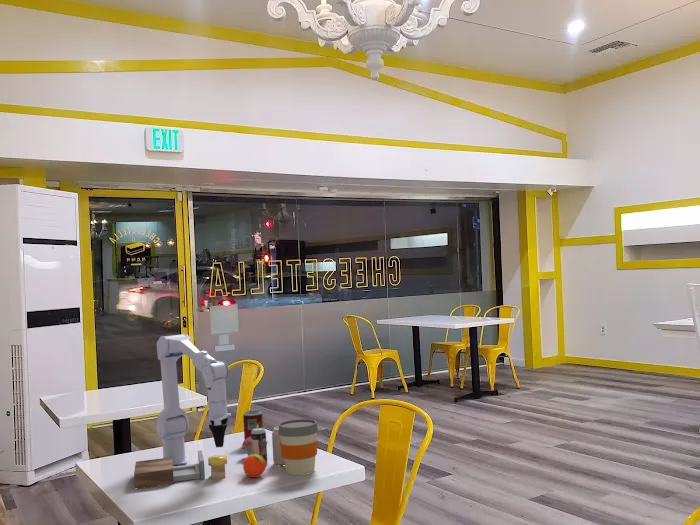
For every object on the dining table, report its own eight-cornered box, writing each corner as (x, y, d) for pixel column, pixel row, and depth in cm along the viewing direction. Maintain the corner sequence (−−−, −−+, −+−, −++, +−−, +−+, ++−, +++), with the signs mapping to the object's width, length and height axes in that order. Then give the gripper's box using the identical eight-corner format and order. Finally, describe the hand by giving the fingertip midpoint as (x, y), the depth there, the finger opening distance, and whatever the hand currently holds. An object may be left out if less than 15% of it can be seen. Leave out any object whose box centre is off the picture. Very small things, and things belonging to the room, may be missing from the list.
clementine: (272, 476, 204) (271, 453, 205) (254, 482, 200) (253, 458, 200) (257, 472, 210) (256, 449, 210) (239, 477, 205) (238, 454, 205)
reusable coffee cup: (287, 479, 200) (284, 429, 201) (275, 469, 212) (272, 422, 212) (326, 472, 205) (323, 424, 206) (312, 463, 217) (309, 417, 217)
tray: (166, 471, 216) (165, 454, 216) (202, 466, 219) (201, 450, 219) (166, 483, 202) (165, 465, 203) (204, 478, 206) (204, 460, 206)
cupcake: (272, 455, 230) (271, 420, 230) (256, 461, 223) (255, 425, 223) (253, 452, 235) (252, 418, 235) (237, 459, 227) (235, 424, 228)
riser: (211, 475, 209) (210, 462, 209) (224, 473, 210) (223, 461, 210) (212, 479, 205) (211, 466, 205) (225, 477, 206) (224, 464, 206)
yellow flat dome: (207, 462, 210) (207, 456, 210) (226, 460, 211) (225, 453, 211) (208, 467, 204) (208, 460, 204) (228, 464, 206) (227, 458, 206)
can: (269, 466, 216) (267, 429, 217) (280, 459, 223) (278, 424, 224) (289, 467, 214) (287, 430, 214) (300, 461, 220) (298, 424, 221)
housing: (136, 475, 214) (135, 461, 214) (173, 470, 217) (172, 457, 217) (134, 488, 199) (133, 473, 199) (173, 483, 202) (173, 468, 203)
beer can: (264, 468, 214) (262, 430, 215) (250, 468, 215) (248, 430, 216) (269, 463, 219) (267, 427, 219) (255, 463, 220) (253, 427, 220)
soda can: (265, 445, 244) (263, 412, 244) (245, 448, 242) (243, 414, 243) (262, 441, 251) (260, 409, 251) (243, 443, 249) (242, 411, 249)
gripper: (229, 403, 202) (232, 448, 202) (230, 396, 216) (233, 438, 216) (206, 405, 201) (209, 450, 200) (208, 398, 215) (211, 440, 215)
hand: (220, 444), depth 208 cm, fingers open, 7 cm apart
